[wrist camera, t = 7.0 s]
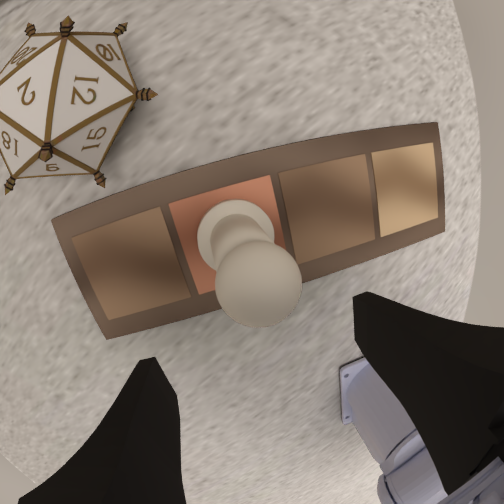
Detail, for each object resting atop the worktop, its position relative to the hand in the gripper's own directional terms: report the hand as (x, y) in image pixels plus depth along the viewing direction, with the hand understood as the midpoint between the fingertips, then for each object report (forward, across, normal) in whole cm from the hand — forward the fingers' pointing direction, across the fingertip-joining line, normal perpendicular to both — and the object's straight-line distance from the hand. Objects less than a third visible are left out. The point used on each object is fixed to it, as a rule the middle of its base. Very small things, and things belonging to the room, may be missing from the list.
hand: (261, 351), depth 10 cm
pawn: (+9, -1, -1) cm, 9 cm away
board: (+9, -4, -1) cm, 10 cm away
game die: (+10, +6, -11) cm, 16 cm away
